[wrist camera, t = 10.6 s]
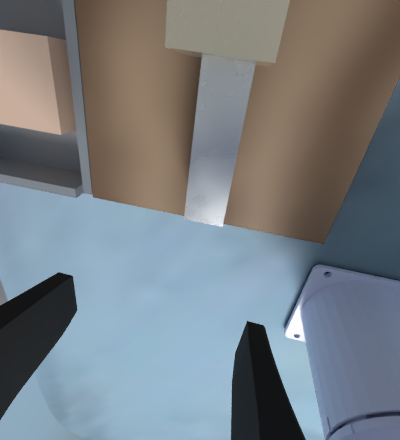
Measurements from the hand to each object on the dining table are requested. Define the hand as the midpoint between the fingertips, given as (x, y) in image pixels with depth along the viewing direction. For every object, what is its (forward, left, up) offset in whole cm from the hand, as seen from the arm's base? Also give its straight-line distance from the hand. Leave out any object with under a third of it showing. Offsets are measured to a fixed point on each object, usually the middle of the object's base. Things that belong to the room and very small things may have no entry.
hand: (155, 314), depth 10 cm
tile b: (+10, -7, -9) cm, 15 cm away
